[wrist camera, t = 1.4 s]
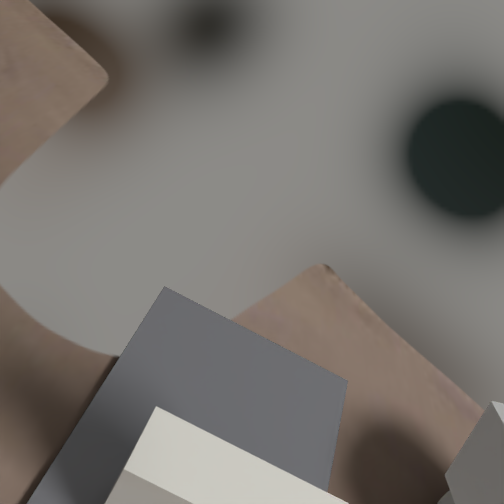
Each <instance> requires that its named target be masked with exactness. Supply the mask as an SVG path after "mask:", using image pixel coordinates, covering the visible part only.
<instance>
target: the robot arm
mask: <svg viewBox="0 0 504 504" xmlns="http://www.w3.org/2000/svg"><path fill="white" fill-rule="evenodd" d="M445 478H446V480H447V483H448V486H449V489H450V492H451V494H452V497H453V500H454V503H455V504H504V404H503V403H499V402H494V401H491V402H490V403H489V405H488V407H487V408H486V410H485V411H484V413H483V415H482V416H481V418H480V419H479V421H478V423H477V424H476V426H475V427H474V429H473V431H472V432H471V434H470V435H469V437H468V439H467V440H466V442H465V443H464V445H463V446H462V448H461V450H460V451H459V453H458V454H457V456H456V458H455V459H454V461H453V462H452V464H451V466H450V467H449V469H448V470H447V472H446V474H445Z"/></svg>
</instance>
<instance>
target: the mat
mask: <svg viewBox="0 0 504 504" xmlns="http://www.w3.org/2000/svg"><path fill="white" fill-rule="evenodd" d="M347 383H348V381H347V380H345V379H343V378H341V377H340V376H338V375H336V374H334V373H332V372H330V371H328V370H326V369H324V368H322V367H320V366H318V365H316V364H314V363H312V362H310V361H309V360H307V359H305V358H303V357H301V356H299V355H297V354H295V353H293V352H291V351H289V350H287V349H285V348H283V347H281V346H279V345H277V344H276V343H274V342H272V341H270V340H268V339H266V338H264V337H262V336H260V335H258V334H256V333H254V332H252V331H250V330H248V329H246V328H245V327H243V326H241V325H239V324H237V323H235V322H233V321H231V320H229V319H227V318H225V317H223V316H221V315H219V314H217V313H215V312H213V311H212V310H209V309H208V308H206V307H204V306H202V305H200V304H198V303H196V302H194V301H192V300H190V299H188V298H186V297H184V296H182V295H181V294H179V293H177V292H175V291H172V290H171V289H169V288H167V287H164V288H163V290H162V291H161V293H160V294H159V296H158V298H157V299H156V301H155V302H154V304H153V305H152V307H151V309H150V310H149V312H148V313H147V315H146V317H145V318H144V320H143V321H142V323H141V324H140V326H139V327H138V329H137V331H136V332H135V334H134V335H133V337H132V338H131V340H130V342H129V343H128V345H127V346H126V348H125V350H124V351H123V353H122V354H121V356H120V357H119V359H118V361H117V362H116V364H115V365H114V367H113V368H112V370H111V372H110V373H109V375H108V376H107V378H106V379H105V381H104V383H103V384H102V386H101V387H100V389H99V391H98V392H97V394H96V395H95V397H94V398H93V400H92V402H91V403H90V405H89V406H88V408H87V409H86V411H85V413H84V414H83V416H82V417H81V419H80V420H79V422H78V424H77V425H76V427H75V428H74V430H73V432H72V433H71V435H70V436H69V438H68V439H67V441H66V443H65V444H64V446H63V447H62V449H61V450H60V452H59V454H58V455H57V457H56V458H55V460H54V461H53V463H52V465H51V466H50V468H49V469H48V471H47V473H46V474H45V476H44V477H43V479H42V480H41V482H40V484H39V485H38V487H37V488H36V490H35V491H34V493H33V495H32V496H31V498H30V499H29V501H28V502H27V504H104V503H105V501H106V499H107V497H108V495H109V494H110V492H111V490H112V488H113V486H114V484H115V482H116V480H117V478H118V476H119V475H120V473H121V471H122V469H123V467H124V465H125V463H126V461H127V460H128V458H129V456H130V454H131V452H132V450H133V448H134V447H135V445H136V443H137V441H138V439H139V437H140V435H141V434H142V432H143V430H144V428H145V426H146V424H147V422H148V420H149V419H150V417H151V415H152V413H153V411H154V409H155V407H156V406H157V407H159V408H161V409H163V410H165V411H167V412H169V413H171V414H173V415H175V416H177V417H179V418H181V419H183V420H185V421H187V422H189V423H191V424H193V425H195V426H196V427H198V428H200V429H202V430H204V431H206V432H208V433H210V434H212V435H214V436H216V437H218V438H220V439H222V440H224V441H226V442H228V443H230V444H232V445H234V446H236V447H238V448H240V449H242V450H244V451H246V452H248V453H250V454H252V455H254V456H256V457H258V458H260V459H262V460H264V461H266V462H268V463H270V464H272V465H274V466H276V467H278V468H280V469H282V470H284V471H286V472H288V473H290V474H292V475H294V476H295V477H297V478H299V479H301V480H303V481H305V482H307V483H309V484H311V485H313V486H315V487H317V488H319V489H321V490H323V491H325V492H327V490H328V485H329V480H330V474H331V469H332V464H333V458H334V453H335V448H336V442H337V437H338V431H339V426H340V421H341V415H342V410H343V405H344V399H345V394H346V389H347Z"/></svg>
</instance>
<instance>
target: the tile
mask: <svg viewBox="0 0 504 504" xmlns="http://www.w3.org/2000/svg"><path fill="white" fill-rule="evenodd" d="M104 504H349V503H347V502H345V501H343V500H341V499H339V498H337V497H335V496H333V495H331V494H329V493H327V492H325V491H323V490H321V489H319V488H317V487H315V486H313V485H311V484H309V483H307V482H305V481H303V480H301V479H299V478H297V477H295V476H294V475H292V474H290V473H288V472H286V471H284V470H282V469H280V468H278V467H276V466H274V465H272V464H270V463H268V462H266V461H264V460H262V459H260V458H258V457H256V456H254V455H252V454H250V453H248V452H246V451H244V450H242V449H240V448H238V447H236V446H234V445H232V444H230V443H228V442H226V441H224V440H222V439H220V438H218V437H216V436H214V435H212V434H210V433H208V432H206V431H204V430H202V429H200V428H198V427H196V426H195V425H193V424H191V423H189V422H187V421H185V420H183V419H181V418H179V417H177V416H175V415H173V414H171V413H169V412H167V411H165V410H163V409H161V408H159V407H157V406H156V407H155V409H154V411H153V413H152V415H151V417H150V419H149V420H148V422H147V424H146V426H145V428H144V430H143V432H142V434H141V435H140V437H139V439H138V441H137V443H136V445H135V447H134V448H133V450H132V452H131V454H130V456H129V458H128V460H127V461H126V463H125V465H124V467H123V469H122V471H121V473H120V475H119V476H118V478H117V480H116V482H115V484H114V486H113V488H112V490H111V492H110V494H109V495H108V497H107V499H106V501H105V503H104Z"/></svg>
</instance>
